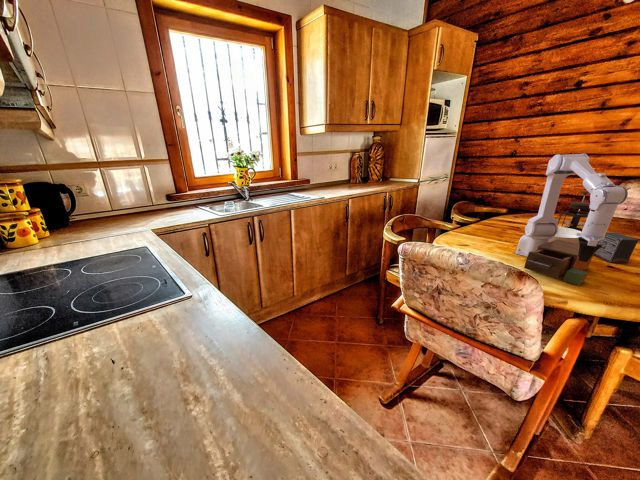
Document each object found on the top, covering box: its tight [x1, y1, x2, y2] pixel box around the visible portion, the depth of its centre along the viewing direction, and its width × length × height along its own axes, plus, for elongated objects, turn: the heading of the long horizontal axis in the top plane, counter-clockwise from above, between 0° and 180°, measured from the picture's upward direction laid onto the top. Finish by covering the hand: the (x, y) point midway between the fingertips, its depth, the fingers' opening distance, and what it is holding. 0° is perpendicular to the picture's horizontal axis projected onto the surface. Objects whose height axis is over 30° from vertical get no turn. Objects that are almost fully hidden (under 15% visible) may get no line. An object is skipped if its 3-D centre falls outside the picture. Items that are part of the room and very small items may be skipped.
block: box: [562, 268, 589, 286], centre depth 103 cm, size 4×4×4 cm
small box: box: [593, 231, 639, 264], centre depth 119 cm, size 11×6×10 cm, turn 168°
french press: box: [557, 190, 590, 232], centre depth 146 cm, size 12×9×23 cm
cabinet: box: [537, 240, 595, 276], centre depth 114 cm, size 15×13×9 cm
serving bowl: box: [548, 225, 581, 244], centre depth 138 cm, size 21×21×7 cm
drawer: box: [523, 249, 574, 280], centre depth 110 cm, size 18×11×7 cm, turn 115°
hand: (582, 259), depth 100 cm, fingers open, 4 cm apart
